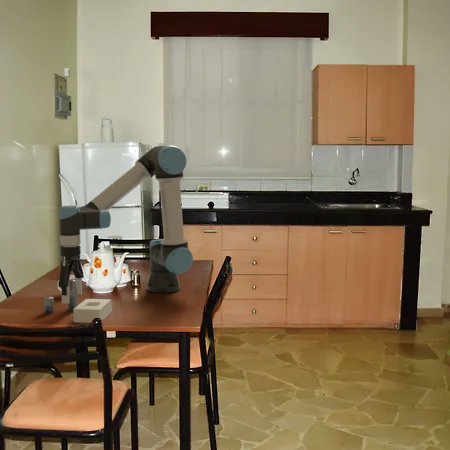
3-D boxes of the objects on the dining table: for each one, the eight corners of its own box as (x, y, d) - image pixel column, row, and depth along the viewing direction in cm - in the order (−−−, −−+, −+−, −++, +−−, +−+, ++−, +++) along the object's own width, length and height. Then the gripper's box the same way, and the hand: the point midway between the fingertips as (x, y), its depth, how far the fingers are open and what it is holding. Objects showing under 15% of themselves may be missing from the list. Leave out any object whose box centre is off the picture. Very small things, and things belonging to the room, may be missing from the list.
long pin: (78, 308, 215) (77, 279, 214) (75, 311, 212) (74, 281, 210) (70, 308, 216) (69, 279, 214) (66, 311, 212) (65, 281, 210)
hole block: (111, 311, 211) (111, 299, 211) (100, 322, 197) (99, 309, 197) (86, 311, 212) (86, 298, 211) (73, 322, 198) (73, 309, 198)
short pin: (55, 311, 212) (54, 296, 211) (51, 314, 208) (51, 298, 208) (46, 311, 212) (46, 296, 212) (42, 313, 209) (42, 298, 208)
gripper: (72, 240, 223) (74, 290, 226) (47, 250, 198) (49, 307, 201) (90, 240, 222) (91, 290, 225) (67, 251, 198) (69, 307, 200)
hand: (72, 298), depth 213 cm, fingers open, 13 cm apart
